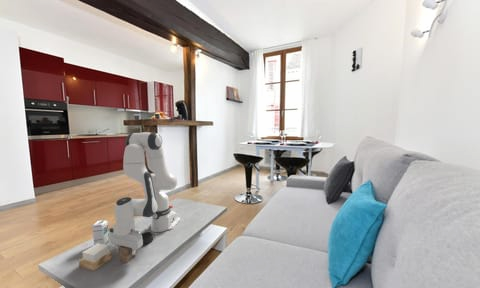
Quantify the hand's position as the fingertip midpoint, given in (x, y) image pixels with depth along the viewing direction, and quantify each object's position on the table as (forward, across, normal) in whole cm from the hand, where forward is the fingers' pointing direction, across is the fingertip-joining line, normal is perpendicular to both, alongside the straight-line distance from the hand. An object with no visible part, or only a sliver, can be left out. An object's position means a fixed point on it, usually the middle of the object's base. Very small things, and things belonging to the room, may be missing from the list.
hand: (126, 252), depth 104 cm
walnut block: (+4, 0, 0) cm, 4 cm away
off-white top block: (0, +14, +6) cm, 15 cm away
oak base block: (+4, +14, +7) cm, 16 cm away
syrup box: (+4, +26, -5) cm, 27 cm away
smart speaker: (+4, +3, -16) cm, 17 cm away
